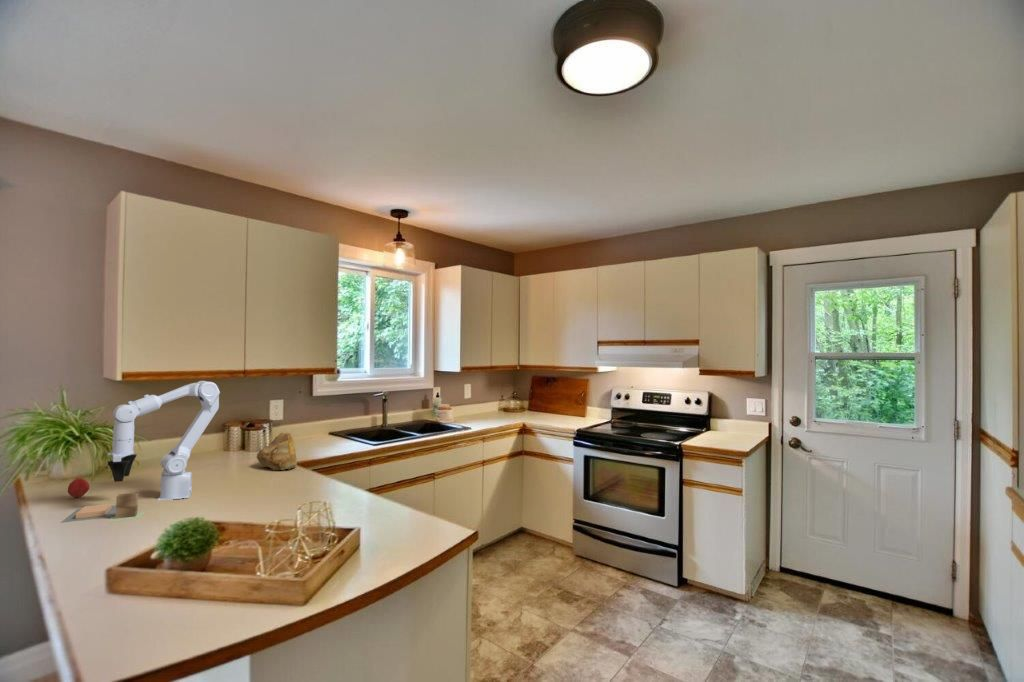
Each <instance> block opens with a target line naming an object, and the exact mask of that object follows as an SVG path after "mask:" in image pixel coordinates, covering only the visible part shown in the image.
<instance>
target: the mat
mask: <svg viewBox="0 0 1024 682" xmlns="http://www.w3.org/2000/svg"><path fill="white" fill-rule="evenodd" d="M81 509H82V508H77V509H76V510H74V511H73V512H72V513H70V515H67V517H66V518H64V519H63V520H61V522H60V523H71V522H79V521H87V520H98V519H107V518H108V519H110V518H112V517H114V515H116V505H112V509H111V510H110V511H109V512H107V513H106V514H105V515H104V516H98V517H88V518H79V519H76V513H77V512H79V511H80V510H81Z"/></svg>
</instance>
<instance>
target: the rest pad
mask: <svg viewBox="0 0 1024 682" xmlns="http://www.w3.org/2000/svg"><path fill="white" fill-rule="evenodd" d="M144 513H145V511H141V512H139V511H137V515H136V516H135V517H126V518H117V519H116V515H114V517H110V518H109V519H108V521H107V523H113V522H119V521H128V520H137V519H140V518H141V517H142V516H143V514H144Z"/></svg>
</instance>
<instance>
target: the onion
mask: <svg viewBox="0 0 1024 682" xmlns="http://www.w3.org/2000/svg"><path fill="white" fill-rule="evenodd" d="M89 490H90V483H89V481H87V480H86V479H84V478H82V476H81V475H79V476H77V478H76V479H74V480H73V481H71V482H70V484H69V485H68V487H67V493H68V495H70V497H74V498H75V499H78V498H79V497H80V498H82V497H83V496H85V494H87V492H88V491H89ZM80 498H79V499H80Z"/></svg>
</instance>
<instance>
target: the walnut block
mask: <svg viewBox="0 0 1024 682" xmlns="http://www.w3.org/2000/svg"><path fill="white" fill-rule="evenodd" d="M138 502H139V492H129V493H120V494H119V493H118V495H117V496H116V501H115V504H116V519H117V518H126V517H135V516H136V515H137V513H138V505H139V503H138Z"/></svg>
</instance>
